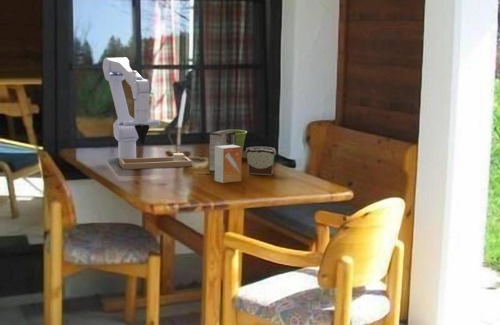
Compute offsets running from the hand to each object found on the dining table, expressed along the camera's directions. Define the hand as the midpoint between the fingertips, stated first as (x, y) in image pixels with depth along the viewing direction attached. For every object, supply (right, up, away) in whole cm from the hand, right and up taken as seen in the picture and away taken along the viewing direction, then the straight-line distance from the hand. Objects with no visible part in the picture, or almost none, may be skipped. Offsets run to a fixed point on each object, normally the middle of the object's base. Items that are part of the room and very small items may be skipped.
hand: (142, 144), depth 358 cm
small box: (+35, -14, -25) cm, 45 cm away
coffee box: (+32, -12, -10) cm, 36 cm away
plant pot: (+36, -6, +25) cm, 44 cm away
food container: (+48, -12, -9) cm, 50 cm away
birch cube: (+14, -8, +1) cm, 16 cm away
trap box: (+5, -10, -1) cm, 11 cm away
